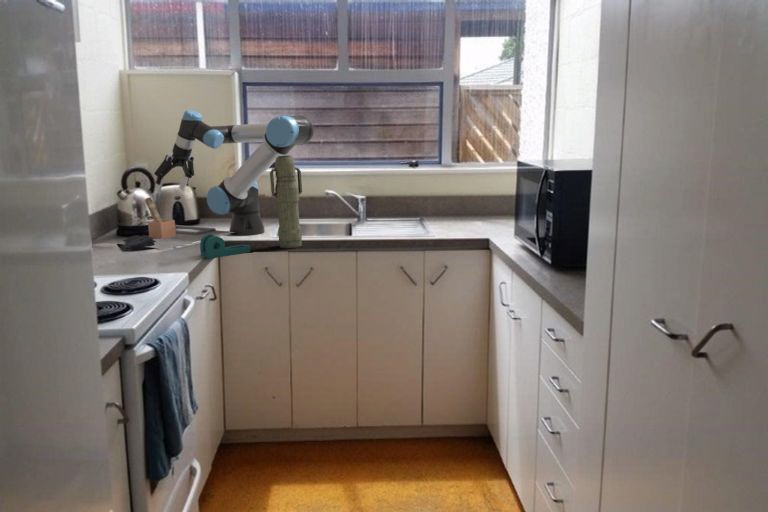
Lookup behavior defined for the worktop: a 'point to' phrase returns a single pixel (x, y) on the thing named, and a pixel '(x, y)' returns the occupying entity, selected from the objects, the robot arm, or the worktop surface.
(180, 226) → the charcoal tray
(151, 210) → the beech stick
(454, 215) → the worktop surface
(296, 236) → the thermos
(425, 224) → the worktop surface
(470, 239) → the worktop surface
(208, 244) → the bracket
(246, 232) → the robot arm
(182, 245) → the worktop surface
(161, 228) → the orange open cube box
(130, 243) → the dark slate chunk
